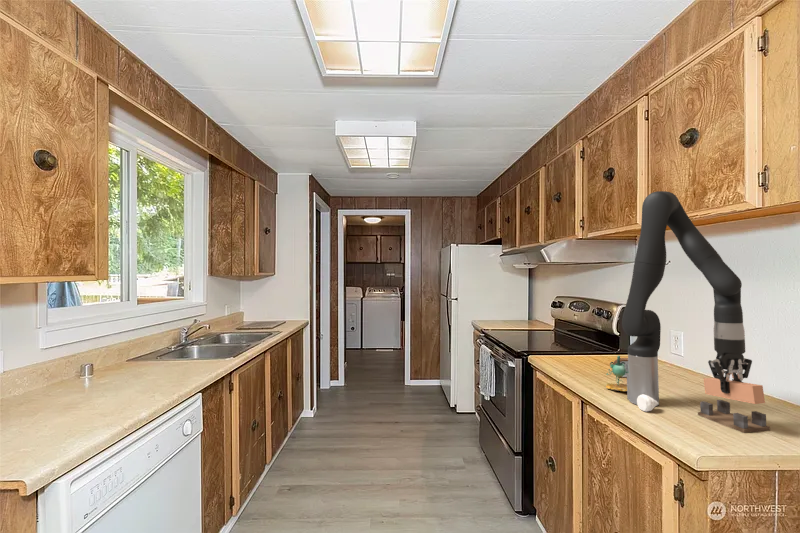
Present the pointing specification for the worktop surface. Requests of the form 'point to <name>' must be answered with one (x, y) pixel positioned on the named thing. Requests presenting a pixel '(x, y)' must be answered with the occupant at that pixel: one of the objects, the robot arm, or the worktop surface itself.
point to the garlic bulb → (646, 403)
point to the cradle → (733, 417)
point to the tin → (624, 365)
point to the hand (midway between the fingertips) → (731, 392)
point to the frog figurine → (618, 371)
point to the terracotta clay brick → (736, 391)
